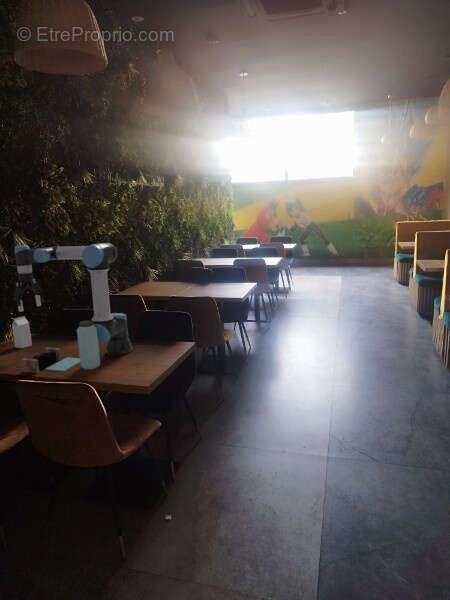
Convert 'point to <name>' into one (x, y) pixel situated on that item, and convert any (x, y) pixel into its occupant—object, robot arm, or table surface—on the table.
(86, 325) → the water bottle
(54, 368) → the mat
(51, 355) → the camera
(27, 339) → the milk carton
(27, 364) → the slot block
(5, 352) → the table surface
